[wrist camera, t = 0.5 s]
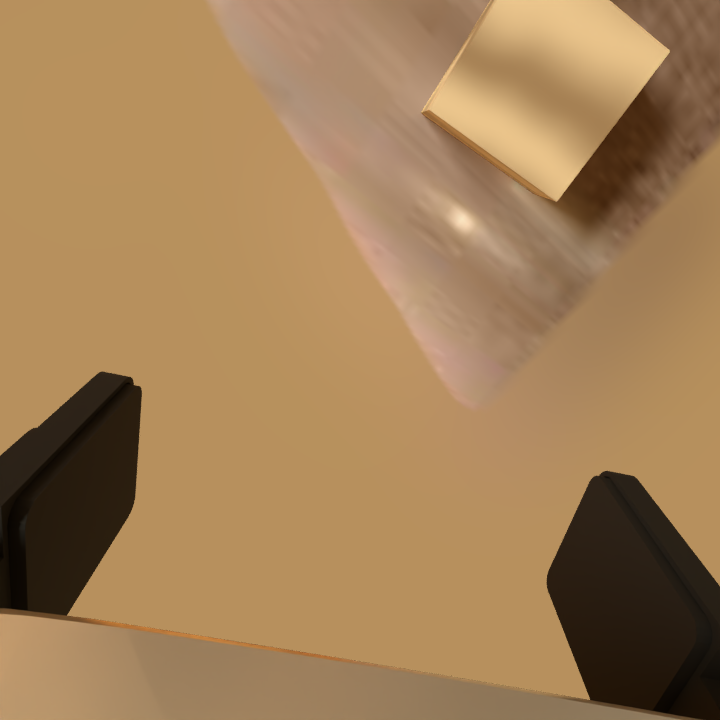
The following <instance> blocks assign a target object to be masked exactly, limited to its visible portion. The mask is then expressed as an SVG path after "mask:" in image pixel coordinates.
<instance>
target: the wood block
mask: <svg viewBox="0 0 720 720" xmlns="http://www.w3.org/2000/svg"><path fill="white" fill-rule="evenodd" d="M669 52H670V51H669V50H668V49H667V48H666V47H665V46H663V45H662V44H661V43H660V42H659V41H657V40H656V39H655V38H654V37H653V36H651V35H650V34H649V33H648V32H647V31H645V30H644V29H643V28H642V27H641V26H640V25H638V24H637V23H636V22H635V21H634V20H632V19H631V18H630V17H629V16H628V15H626V14H625V13H624V12H623V11H622V10H620V9H619V8H618V7H617V6H616V5H614V4H613V3H612V2H611V1H610V0H490V2H489V4H488V5H487V7H486V8H485V10H484V12H483V13H482V15H481V17H480V18H479V20H478V21H477V23H476V25H475V26H474V28H473V29H472V31H471V33H470V34H469V36H468V38H467V39H466V41H465V42H464V44H463V46H462V47H461V49H460V50H459V52H458V54H457V55H456V57H455V59H454V60H453V62H452V63H451V65H450V67H449V68H448V70H447V71H446V73H445V75H444V76H443V78H442V80H441V81H440V83H439V84H438V86H437V88H436V89H435V91H434V92H433V94H432V96H431V97H430V99H429V101H428V102H427V104H426V105H425V107H424V109H423V110H422V112H421V113H422V114H423V115H425V116H426V117H428V118H429V119H430V120H432V121H433V122H434V123H436V124H437V125H439V126H440V127H441V128H443V129H444V130H446V131H447V132H448V133H450V134H451V135H453V136H454V137H455V138H457V139H458V140H460V141H461V142H462V143H464V144H465V145H467V146H468V147H469V148H471V149H472V150H473V151H475V152H476V153H478V154H479V155H480V156H482V157H483V158H485V159H486V160H487V161H489V162H490V163H492V164H493V165H494V166H496V167H497V168H499V169H500V170H501V171H503V172H504V173H506V174H507V175H508V176H510V177H511V178H512V179H514V180H515V181H517V182H518V183H519V184H521V185H522V186H524V187H525V188H526V189H528V190H529V191H531V192H532V193H533V194H536V195H539V196H542V197H545V198H547V199H550V200H553V201H556V202H557V201H558V200H559V198H560V197H561V196H562V194H563V193H564V192H565V190H566V189H567V188H568V186H569V185H570V184H571V182H572V181H573V180H574V178H575V177H576V176H577V174H578V173H579V172H580V170H581V169H582V168H583V166H584V165H585V164H586V162H587V161H588V160H589V158H590V157H591V156H592V154H593V153H594V152H595V151H596V149H597V148H598V147H599V145H600V144H601V143H602V141H603V140H604V139H605V137H606V136H607V135H608V133H609V132H610V131H611V129H612V128H613V127H614V125H615V124H616V123H617V121H618V120H619V119H620V117H621V116H622V115H623V113H624V112H625V111H626V109H627V108H628V107H629V105H630V104H631V103H632V101H633V100H634V99H635V97H636V96H637V95H638V93H639V92H640V91H641V89H642V88H643V87H644V85H645V84H646V83H647V81H648V80H649V79H650V77H651V76H652V75H653V74H654V72H655V71H656V70H657V68H658V67H659V66H660V64H661V63H662V62H663V60H664V59H665V58H666V56H667V55H668V54H669Z"/></svg>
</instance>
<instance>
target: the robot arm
mask: <svg viewBox="0 0 720 720" xmlns="http://www.w3.org/2000/svg"><path fill="white" fill-rule="evenodd" d="M141 397H142V391H141V387H140V386H135V385H134V383H133V379H132V378H131V377H127V376H122V375H117V374H112V373H106V372H100V373H98V374H97V375H96V376H95V377H93V378H92V379H91V380H90V381H89V382H88V383H87V384H86V385H85V386H83V387H82V388H81V389H80V390H79V391H78V392H77V393H76V394H74V395H73V396H72V397H71V398H70V399H69V400H68V401H67V402H65V404H63V405H62V406H61V407H60V408H59V409H58V410H57V411H56V412H54V413H53V414H52V415H51V416H50V417H49V418H48V419H47V420H45V421H44V422H43V423H42V424H41V425H40V426H39V427H38V428H33V429H31V430H30V431H28V432H27V433H26V434H24V436H22V437H21V438H20V439H19V440H18V441H17V442H15V443H14V444H13V445H12V446H11V447H10V448H9V449H7V451H5V452H4V453H3V454H2V455H1V456H0V720H720V586H719V585H718V583H717V582H716V581H715V579H714V578H713V577H712V576H711V574H710V573H709V572H708V570H707V569H706V568H705V566H704V565H703V564H702V563H701V561H700V560H699V559H698V557H697V556H696V555H695V553H694V552H693V551H692V550H691V548H690V547H689V546H688V544H687V543H686V542H685V540H684V539H683V538H682V537H681V535H680V534H679V533H678V531H677V530H676V529H675V527H674V526H673V525H672V523H671V522H670V521H669V520H668V518H667V517H666V516H665V515H664V513H663V512H662V511H661V509H660V508H659V507H658V505H657V504H656V503H655V501H654V500H653V499H652V498H651V496H650V495H649V494H648V492H647V491H646V490H645V488H644V487H643V486H642V485H641V483H640V482H639V481H638V479H637V478H635V477H634V476H630V475H625V474H620V473H615V472H610V471H605V472H602V473H601V474H600V476H595V477H593V478H592V479H591V481H590V482H589V484H588V487H587V489H586V491H585V493H584V495H583V498H582V500H581V502H580V504H579V506H578V508H577V510H576V513H575V515H574V517H573V519H572V521H571V523H570V526H569V528H568V530H567V532H566V534H565V536H564V539H563V541H562V543H561V545H560V547H559V549H558V552H557V554H556V556H555V558H554V560H553V562H552V565H551V567H550V569H549V571H548V575H547V588H548V592H549V594H550V597H551V599H552V602H553V605H554V607H555V610H556V612H557V615H558V617H559V620H560V623H561V625H562V628H563V630H564V633H565V635H566V638H567V641H568V643H569V646H570V648H571V651H572V653H573V656H574V658H575V661H576V663H577V666H578V669H579V672H580V674H581V676H582V679H583V682H584V684H585V687H586V689H587V692H588V695H589V697H590V700H586V699H580V698H575V697H569V696H563V695H557V694H551V693H546V692H539V691H534V690H527V689H522V688H517V687H510V686H504V685H499V684H493V683H487V682H481V681H475V680H469V679H463V678H457V677H451V676H445V675H439V674H433V673H427V672H421V671H415V670H409V669H403V668H397V667H391V666H385V665H378V664H373V663H367V662H361V661H355V660H348V659H342V658H336V657H330V656H323V655H318V654H311V653H306V652H299V651H293V650H287V649H281V648H274V647H267V646H262V645H256V644H249V643H243V642H236V641H230V640H224V639H218V638H212V637H205V636H199V635H193V634H187V633H180V632H174V631H168V630H161V629H155V628H149V627H142V626H136V625H129V624H123V623H116V622H110V621H103V620H97V619H89V618H81V617H73V616H67V614H68V613H69V611H70V609H71V608H72V606H73V604H74V603H75V601H76V600H77V598H78V597H79V595H80V593H81V592H82V590H83V589H84V587H85V585H86V583H87V582H88V580H89V579H90V577H91V576H92V574H93V572H94V571H95V569H96V567H97V566H98V564H99V563H100V561H101V559H102V558H103V556H104V554H105V553H106V552H107V550H108V548H109V547H110V545H111V544H112V542H113V540H114V539H115V537H116V536H117V534H118V532H119V531H120V529H121V528H122V526H123V524H124V523H125V521H126V519H127V518H128V516H129V514H130V512H131V510H132V507H133V504H134V500H135V491H136V490H135V489H136V475H137V459H138V444H139V429H140V413H141Z"/></svg>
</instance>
